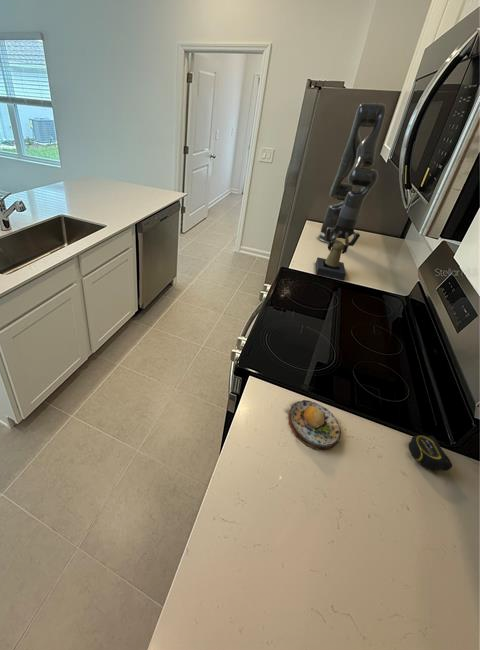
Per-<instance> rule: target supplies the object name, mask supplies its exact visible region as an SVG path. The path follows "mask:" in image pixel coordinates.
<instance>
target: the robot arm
mask: <svg viewBox="0 0 480 650" xmlns="http://www.w3.org/2000/svg"><path fill="white" fill-rule="evenodd" d="M386 113H387V107H386V104H384V103H376V102H362V103H360V104H359V105H358V108H357V109H356V112H355V115H354V119H353V122H352V126H351V130H350V134H349V137H348V140H347V143H346V146H345V147H344V150H343V154H342V157H341V160H340V163H339V166H338V170H337V173H336V175H335V178H334V180H333V183H332V185H331V188H330V191H329V198H330V199H332V200H336V201H341V202H338V203H333V204H330V205H328V207H327V210H326V212H325V216H324V219H323V222H322V225H321V228H320V231H319V234H318V238H317V240H319V241H321V242H323V243H326V244H328V245H327V250H328V251H329V252H330V251H331V249H332V245H333V242H335V241H337V239H342V240H344V245H345V247H344V249H343V250H342V251H341V254H347V251H348V248H349V247H353V246H354V245H355V243H357V241H358V240H359V238H360V237H361V234H360V232H356V231H355V228H356V226H357V222H358V220H359V219H360V214H361V210H362V208H363V204H364V201H365V199H366V198H367V196H368V194H369V193H370V191H371V190H372V188H373V187H374V186H375V184H376V183H377V181H378V179H379V172H378V170H377V169H373V168H371V167H373V166H374V164H375V160H376V153H377V147H378V142H379V140H380V136H381V133H382V129H383V127H384V126H383V125H384V123H385V122H384V121H385V118H386ZM361 128H372V130H371V132H370V133H368V135H367V136H366V137H364V138H363V139H362V137H361V132H360V129H361ZM346 177H347V182H343V181H344V180H345V179H346ZM355 186H356V187H361V188H360V189H358V190H354V187H355ZM351 236H352V238H351V241H350V240H349V238H350V237H351Z"/></svg>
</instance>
